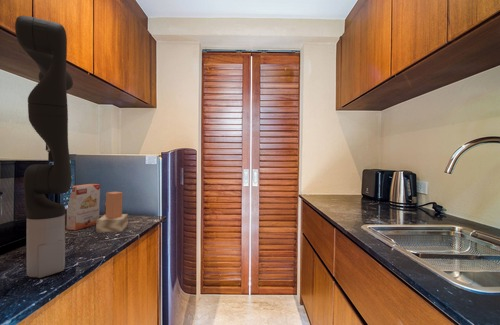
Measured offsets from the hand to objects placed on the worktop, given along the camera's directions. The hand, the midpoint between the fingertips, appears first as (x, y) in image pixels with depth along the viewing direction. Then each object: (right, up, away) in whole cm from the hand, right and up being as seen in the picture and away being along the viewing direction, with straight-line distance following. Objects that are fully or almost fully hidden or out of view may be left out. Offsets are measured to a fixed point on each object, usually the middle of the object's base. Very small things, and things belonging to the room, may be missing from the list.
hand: (55, 162), depth 97 cm
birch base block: (+10, -33, +23) cm, 41 cm away
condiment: (+1, -32, +38) cm, 50 cm away
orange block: (+11, -27, +22) cm, 37 cm away
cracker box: (-5, -33, +24) cm, 41 cm away
